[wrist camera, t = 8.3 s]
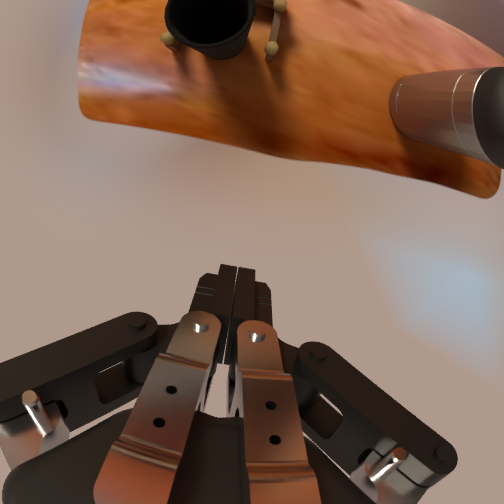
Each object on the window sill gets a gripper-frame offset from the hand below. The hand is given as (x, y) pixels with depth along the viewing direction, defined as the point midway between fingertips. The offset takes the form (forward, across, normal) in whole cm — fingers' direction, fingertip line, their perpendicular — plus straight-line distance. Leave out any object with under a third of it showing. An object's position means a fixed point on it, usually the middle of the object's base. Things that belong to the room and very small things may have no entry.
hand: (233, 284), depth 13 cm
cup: (+26, +6, -16) cm, 32 cm away
